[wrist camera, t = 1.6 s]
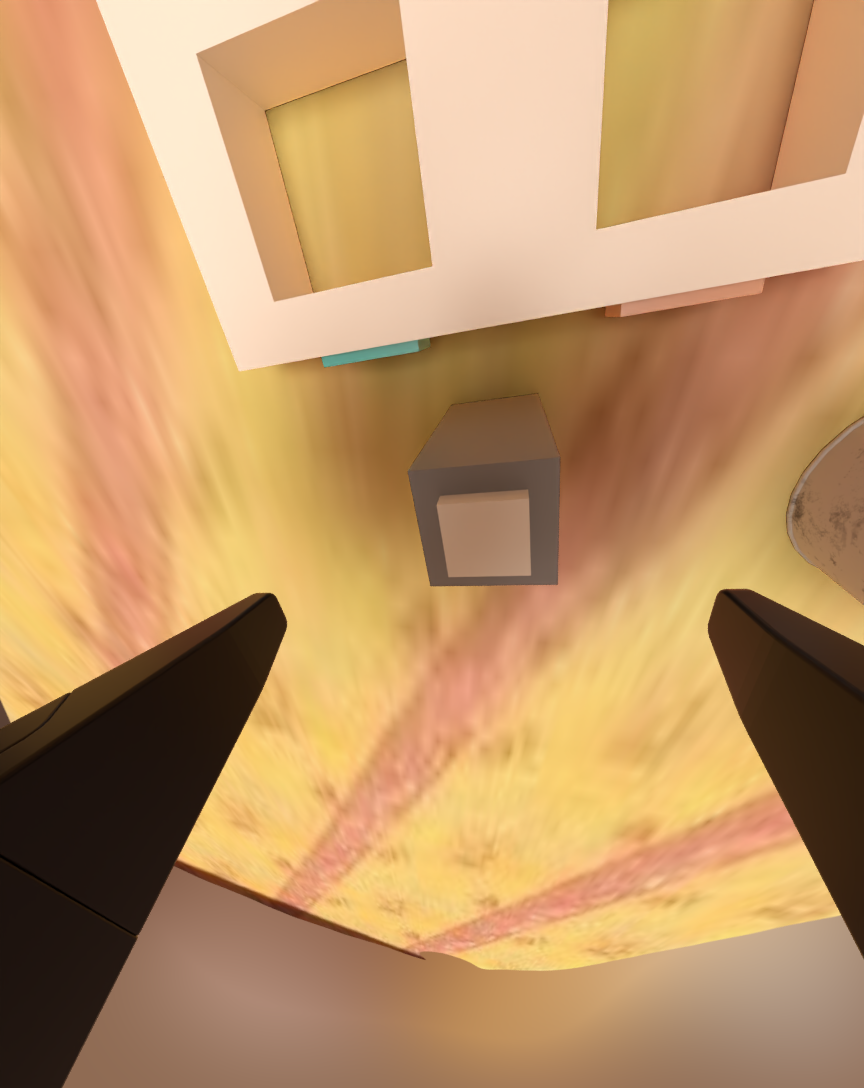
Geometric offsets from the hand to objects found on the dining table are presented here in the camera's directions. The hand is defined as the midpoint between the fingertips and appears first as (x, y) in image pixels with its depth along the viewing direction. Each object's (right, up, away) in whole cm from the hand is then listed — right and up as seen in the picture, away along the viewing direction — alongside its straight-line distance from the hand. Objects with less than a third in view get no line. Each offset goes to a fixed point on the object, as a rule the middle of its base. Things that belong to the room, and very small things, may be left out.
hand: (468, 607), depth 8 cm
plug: (+2, +6, +11) cm, 13 cm away
